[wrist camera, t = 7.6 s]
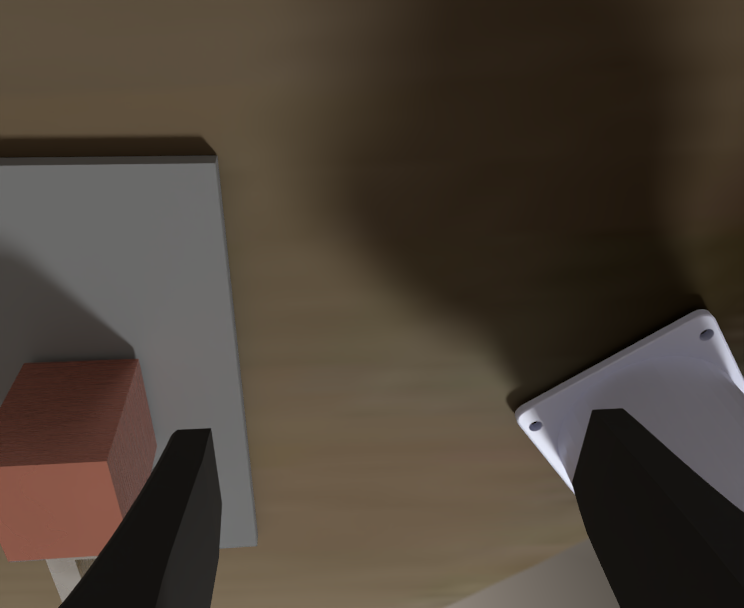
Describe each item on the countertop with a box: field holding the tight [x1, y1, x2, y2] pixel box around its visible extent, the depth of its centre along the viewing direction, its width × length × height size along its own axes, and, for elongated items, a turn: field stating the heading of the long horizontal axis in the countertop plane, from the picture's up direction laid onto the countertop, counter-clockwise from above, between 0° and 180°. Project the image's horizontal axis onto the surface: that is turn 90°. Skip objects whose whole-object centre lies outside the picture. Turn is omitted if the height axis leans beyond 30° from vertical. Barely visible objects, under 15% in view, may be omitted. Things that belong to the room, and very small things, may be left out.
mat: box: [0, 155, 258, 562], centre depth 23 cm, size 17×10×1 cm, turn 178°
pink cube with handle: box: [0, 359, 157, 603], centre depth 23 cm, size 12×5×4 cm, turn 178°
